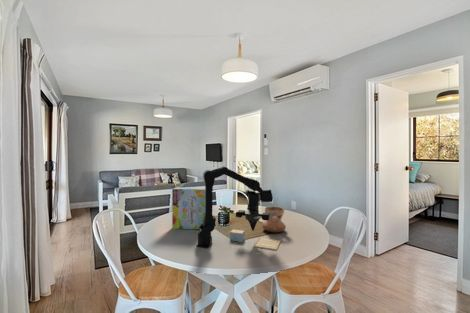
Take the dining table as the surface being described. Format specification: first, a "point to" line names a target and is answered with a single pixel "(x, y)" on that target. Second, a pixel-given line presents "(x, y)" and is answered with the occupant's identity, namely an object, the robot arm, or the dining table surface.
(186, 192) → the snack box
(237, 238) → the stub
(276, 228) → the ceramic jug
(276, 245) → the pad
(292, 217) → the dining table surface
